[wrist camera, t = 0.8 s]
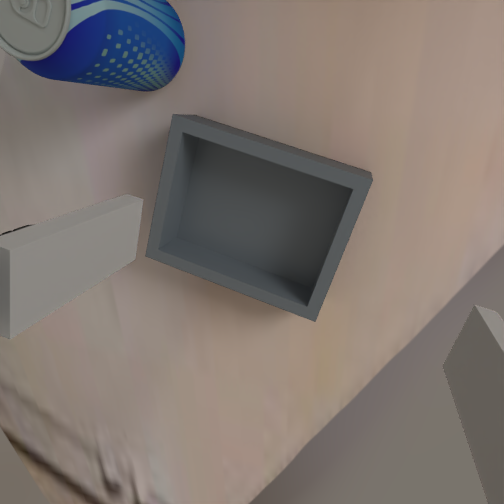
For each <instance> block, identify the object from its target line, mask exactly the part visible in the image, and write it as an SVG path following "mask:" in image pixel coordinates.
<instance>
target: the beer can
mask: <svg viewBox="0 0 504 504" xmlns="http://www.w3.org/2000/svg"><path fill="white" fill-rule="evenodd" d="M0 47H1V48H2V49H3V50H4V51H5V52H7V53H8V54H10V55H12V56H13V57H15V58H16V59H17V60H18V61H19V62H20V63H21V64H22V65H24V66H25V67H26V68H28V69H29V70H31V71H32V72H34V73H35V74H37V75H40V76H42V77H45V78H48V79H53V80H60V81H68V82H76V83H84V84H91V85H99V86H107V87H115V88H122V89H130V90H138V91H154V90H157V89H160V88H162V87H164V86H166V85H167V84H168V83H169V82H170V81H171V80H172V79H173V78H174V77H175V76H176V74H177V73H178V71H179V69H180V67H181V64H182V62H183V58H184V52H185V36H184V31H183V27H182V24H181V21H180V19H179V17H178V15H177V13H176V12H175V10H174V9H173V7H172V6H171V5H170V4H169V3H168V2H167V1H166V0H0Z"/></svg>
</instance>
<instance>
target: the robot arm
mask: <svg viewBox="0 0 504 504" xmlns="http://www.w3.org/2000/svg"><path fill="white" fill-rule="evenodd" d="M142 207H143V199H141V198H138V197H135V196H132V195H129V194H125V195H122V196H119V197H116V198H113V199H110V200H107V201H104V202H101V203H98V204H95V205H92V206H89V207H86V208H83V209H80V210H77V211H74V212H71V213H68V214H65V215H62V216H59V217H56V218H53V219H50V220H47V221H44V222H41V223H38V224H34V225H26V226H23V227H20V228H17V229H14V230H13V231H8V232H5V233H2V235H0V336H3V337H5V338H8V339H11V338H13V337H15V336H16V335H18V334H19V333H21V332H22V331H24V330H26V329H27V328H29V327H30V326H32V325H33V324H35V323H37V322H38V321H40V320H41V319H43V318H44V317H46V316H48V315H49V314H51V313H52V312H54V311H55V310H57V309H59V308H60V307H62V306H63V305H65V304H66V303H68V302H70V301H71V300H73V299H74V298H76V297H77V296H79V295H81V294H82V293H84V292H85V291H87V290H88V289H90V288H92V287H93V286H95V285H96V284H98V283H99V282H101V281H103V280H104V279H106V278H107V277H109V276H110V275H112V274H113V273H115V272H117V271H118V270H120V269H121V268H123V267H124V266H126V265H128V264H129V263H131V262H132V261H134V260H135V259H136V251H137V244H138V236H139V229H140V221H141V214H142ZM443 369H444V372H445V375H446V378H447V380H448V384H449V387H450V390H451V393H452V396H453V399H454V402H455V405H456V408H457V411H458V414H459V417H460V420H461V423H462V426H463V429H464V432H465V435H466V438H467V441H468V444H469V447H470V450H471V453H472V456H473V459H474V462H475V465H476V468H477V471H478V474H479V477H480V480H481V483H482V487H483V490H484V493H485V495H486V499H487V502H488V504H504V321H503V320H502V318H501V317H500V315H499V314H498V313H497V312H496V311H493V310H490V309H486V308H483V307H480V306H477V305H474V307H473V309H472V311H471V313H470V315H469V317H468V319H467V321H466V322H465V324H464V326H463V328H462V330H461V332H460V334H459V336H458V338H457V339H456V341H455V343H454V345H453V347H452V349H451V351H450V353H449V355H448V357H447V359H446V360H445V362H444V364H443Z"/></svg>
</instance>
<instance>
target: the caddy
mask: <svg viewBox="0 0 504 504" xmlns="http://www.w3.org/2000/svg"><path fill="white" fill-rule="evenodd" d="M372 181H373V178H372V174H371V172H368V171H365V170H362V169H359V168H356V167H353V166H350V165H347V164H344V163H341V162H338V161H335V160H332V159H328V158H325V157H322V156H319V155H316V154H313V153H310V152H307V151H304V150H301V149H298V148H295V147H292V146H289V145H285V144H282V143H279V142H276V141H273V140H270V139H267V138H264V137H261V136H258V135H255V134H252V133H249V132H246V131H243V130H239V129H236V128H233V127H230V126H227V125H224V124H221V123H218V122H215V121H212V120H209V119H206V118H203V117H200V116H197V115H181V114H173V116H172V121H171V126H170V131H169V137H168V142H167V147H166V152H165V157H164V162H163V168H162V173H161V178H160V183H159V188H158V193H157V199H156V204H155V209H154V214H153V219H152V224H151V230H150V235H149V240H148V245H147V250H146V255H145V256H146V257H149V258H152V259H154V260H157V261H159V262H162V263H164V264H167V265H170V266H172V267H175V268H177V269H180V270H183V271H185V272H188V273H190V274H193V275H195V276H198V277H201V278H203V279H206V280H208V281H211V282H214V283H216V284H219V285H221V286H224V287H226V288H229V289H232V290H234V291H237V292H239V293H242V294H245V295H247V296H250V297H252V298H255V299H257V300H260V301H263V302H265V303H268V304H270V305H273V306H276V307H278V308H281V309H283V310H286V311H288V312H291V313H294V314H296V315H299V316H301V317H304V318H307V319H309V320H312V321H314V322H315V321H316V319H317V316H318V314H319V311H320V309H321V306H322V304H323V301H324V299H325V297H326V294H327V292H328V289H329V287H330V284H331V282H332V279H333V277H334V274H335V272H336V270H337V267H338V265H339V262H340V260H341V257H342V255H343V252H344V250H345V247H346V245H347V243H348V240H349V238H350V235H351V233H352V230H353V228H354V225H355V223H356V220H357V218H358V216H359V213H360V211H361V208H362V206H363V203H364V201H365V198H366V196H367V193H368V191H369V189H370V186H371V184H372Z"/></svg>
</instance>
